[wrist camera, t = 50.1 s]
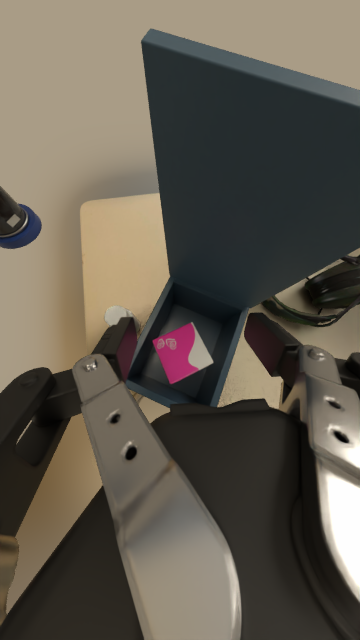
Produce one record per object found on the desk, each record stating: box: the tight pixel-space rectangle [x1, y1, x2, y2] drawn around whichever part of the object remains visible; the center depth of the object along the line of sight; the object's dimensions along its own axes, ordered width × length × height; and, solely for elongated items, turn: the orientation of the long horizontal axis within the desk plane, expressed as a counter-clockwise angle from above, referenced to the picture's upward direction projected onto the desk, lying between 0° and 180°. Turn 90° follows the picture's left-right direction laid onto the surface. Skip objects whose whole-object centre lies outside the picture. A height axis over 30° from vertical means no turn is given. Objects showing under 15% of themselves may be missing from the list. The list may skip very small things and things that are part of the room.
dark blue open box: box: [125, 276, 249, 408], centre depth 26 cm, size 17×13×10 cm
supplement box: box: [153, 322, 213, 384], centre depth 23 cm, size 6×6×12 cm
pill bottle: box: [104, 306, 140, 333], centre depth 27 cm, size 4×4×8 cm
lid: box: [141, 29, 360, 308], centre depth 14 cm, size 18×13×5 cm
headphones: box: [263, 255, 360, 327], centre depth 30 cm, size 13×13×20 cm
